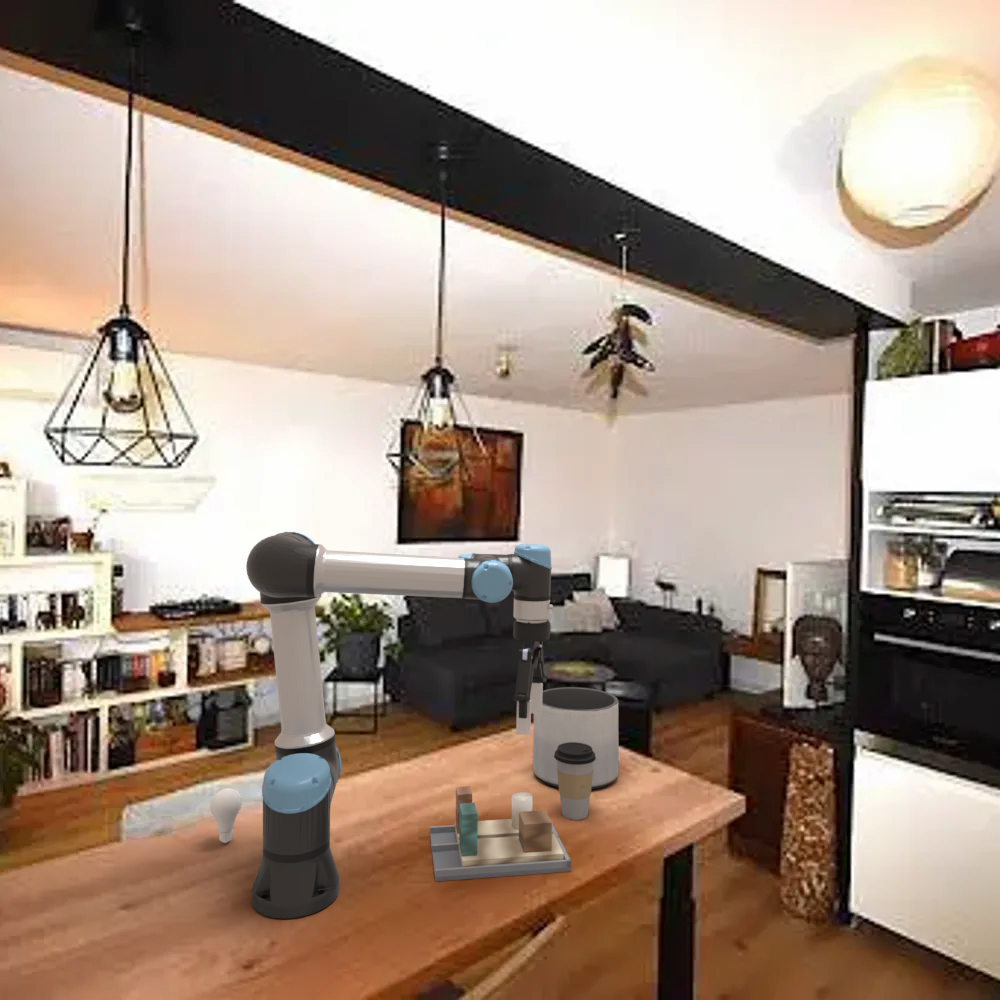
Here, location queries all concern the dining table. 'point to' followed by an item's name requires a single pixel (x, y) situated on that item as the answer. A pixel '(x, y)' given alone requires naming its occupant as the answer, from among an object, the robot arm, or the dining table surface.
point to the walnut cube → (535, 831)
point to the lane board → (451, 869)
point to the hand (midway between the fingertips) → (529, 723)
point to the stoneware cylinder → (520, 806)
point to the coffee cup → (574, 778)
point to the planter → (577, 731)
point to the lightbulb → (225, 811)
